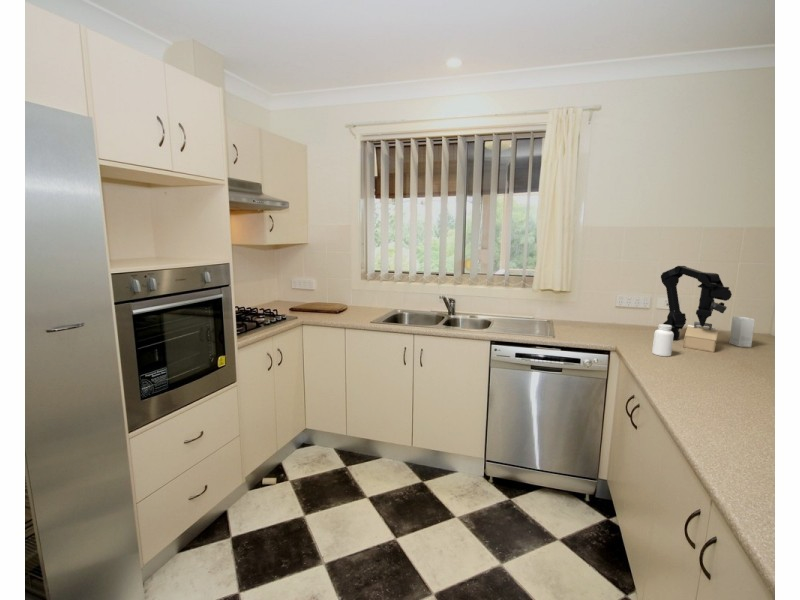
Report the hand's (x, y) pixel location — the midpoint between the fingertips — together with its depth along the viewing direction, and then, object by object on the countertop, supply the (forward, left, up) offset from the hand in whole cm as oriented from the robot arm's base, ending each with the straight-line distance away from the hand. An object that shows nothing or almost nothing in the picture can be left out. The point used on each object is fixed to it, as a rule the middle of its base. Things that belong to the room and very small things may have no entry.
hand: (702, 325), depth 206 cm
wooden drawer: (0, -1, -12) cm, 12 cm away
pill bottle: (-13, -31, -12) cm, 36 cm away
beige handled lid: (0, -1, -4) cm, 4 cm away
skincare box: (+16, +23, -12) cm, 31 cm away
